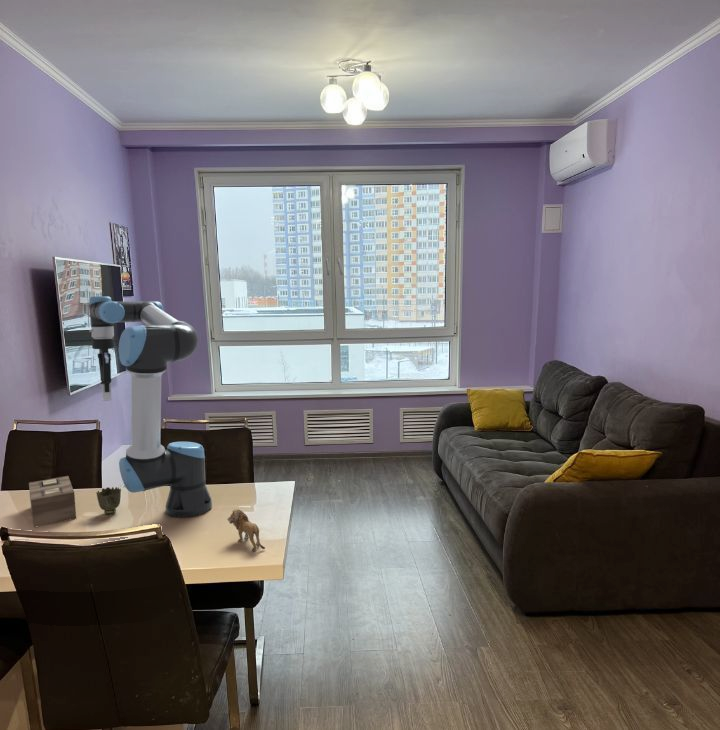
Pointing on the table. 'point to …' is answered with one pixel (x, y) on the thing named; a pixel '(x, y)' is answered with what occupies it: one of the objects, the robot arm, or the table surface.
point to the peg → (49, 482)
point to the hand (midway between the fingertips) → (107, 400)
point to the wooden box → (52, 501)
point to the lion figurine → (245, 527)
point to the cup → (109, 499)
